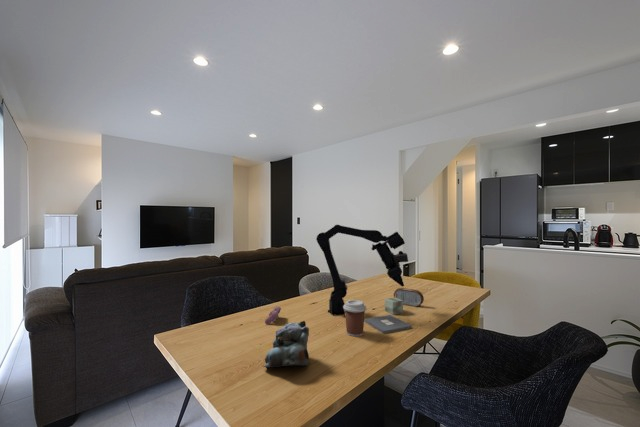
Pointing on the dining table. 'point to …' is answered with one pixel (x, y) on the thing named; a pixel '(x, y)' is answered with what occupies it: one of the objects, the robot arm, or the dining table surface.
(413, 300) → the tin
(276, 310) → the pink frog figurine
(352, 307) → the coffee cup
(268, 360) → the lucky cat figurine
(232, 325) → the dining table surface
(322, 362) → the dining table surface
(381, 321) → the gray board
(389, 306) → the sage block
